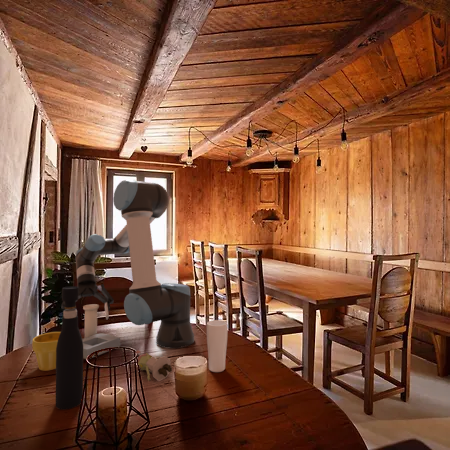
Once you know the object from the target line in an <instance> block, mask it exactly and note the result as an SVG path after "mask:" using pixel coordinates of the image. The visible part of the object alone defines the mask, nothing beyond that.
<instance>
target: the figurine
mask: <svg viewBox="0 0 450 450" xmlns="http://www.w3.org/2000/svg"><path fill="white" fill-rule="evenodd" d="M136 353H137V357H138V365H139V368H140V369H139V368H138V369H139V370H141V371H142V372H144V371H143V370H145V371H146V374H147V378H146V379H147V381H148V382H149V381H151V376H150V375H151V374H150V373H152V377H153V378H154V379H156V380H157V381H158V382H160V381H163V380H164V379H166V378H167V377H168V376H169V374H170V373H171V372H172V371H173V369H172V365H171V364H172V361H171V359H170V358H169V357H167V356H166V355H165V356H161V357H158V358H157V357H154V356H152V355H150V354H149V353H148V352H145V353H142V354H141V351H140V350H136V351H135V354H136Z"/></svg>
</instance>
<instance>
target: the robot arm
mask: <svg viewBox="0 0 450 450" xmlns="http://www.w3.org/2000/svg"><path fill="white" fill-rule="evenodd" d="M112 199H113V200H112V201H113V205H114V207H115V209H116V210H117V211H120V212H121V218H122V219H124V220H125V222H126V225H124V227H123V228H122V229H121V230H120V231H119V233H117V235H116V236H115V237H114V238H104V236H102V235H100V234H97V233H93V234H91V235H89V236H88V238H87V239H86V240H85V243H84V245H83V246H82V247H81V248H79V249H78V250H76V252H75V257H74V258H75V267H76V268H75V269H76V279H77V280H76V281H77V285H76V287H78V288H79V292H78V300H80V299H81V298H82V297H83V298H85V297H94V298H96V299H98V300H99V301H100V302H102V303H103V304H104V313H105V315H104V316H105V320H108V319H109V316H110V315H109V312H110V311H111V305H112V304H114V298H113V296H111V294H110V292H108V290H107V289H106V288H105V285H104V284H103V283H102V284H100V285H97V283H96V282H97V281H96V272H95V261H96V259H97V258H98V257H99V256H107V255H110V256H111V255H123V254H128V253H129V258H130V266H131V267H130V268H131V278H132V285H131V286H130V287H129V290H128V291H129V293H128V294H127V295H126V296H125V297H124V301H123V307H124V312H125V316H126V317H127V319H128V320H129V321H130V322H131V323H132V324H133V325H135V326H143V325H150V324H151V323H156V322H159V321H160V324H159V328H158V331H157V335H156V337H155V338H156V339H155V340H156V341H155V343H156V344H157V346H159V347H162V348H169V349H179V348H185V347H188V346H191V345H192V344H194V342H195V333H194V331H193V327H192V324H191V297H192V296H191V295H192V294H191V289H190V286H189V285H186V284H182V283H171V282H168V283H167V282H165V283H161V282H159V281H158V280H157V273H156V267H155V266H156V265H155V257H154V255H155V254H154V247H153V240H152V239H153V238H152V231H151V224H152V222H153V221H155V219H159V218H161V216H162V215H164V214H165V212H166V211H167V209H168V206H169V204H170V198H169V194H168V191H167V190H166V188H165V187H164V186H162V185H161V184H159V183H156V182H147V181H140V180H135V179H131V180H130V179H124V180H122V181H120V182H119V183H118V184H117V186H116V188H115V189H114V193H113V198H112ZM98 290H99V291H100V292H99V291H98ZM78 300H76V302H78ZM61 309H63V310H65V301H62V303H61Z"/></svg>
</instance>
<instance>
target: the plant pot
mask: <svg viewBox="0 0 450 450" xmlns="http://www.w3.org/2000/svg"><path fill="white" fill-rule="evenodd" d="M60 333H61V331H51V332H47V333H42V334H39V335H36V336H35V337H33V338H32V345H31V346H32V351H33V352H34V353H35V358H36V361H37V365H38V369H39V370H40V371H43V372H44V371H45V372H49V371H52V370H56V347H57V342H58V338H59V335H60Z"/></svg>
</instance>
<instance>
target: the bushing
mask: <svg viewBox="0 0 450 450" xmlns="http://www.w3.org/2000/svg"><path fill="white" fill-rule="evenodd" d="M82 307H83V308H82V309H83V310H84V338H87V337H90V336H93V335H96V334H98V309H99V307H100V305H99V304H96V303H92V304H86V305H83V306H82Z"/></svg>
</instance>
